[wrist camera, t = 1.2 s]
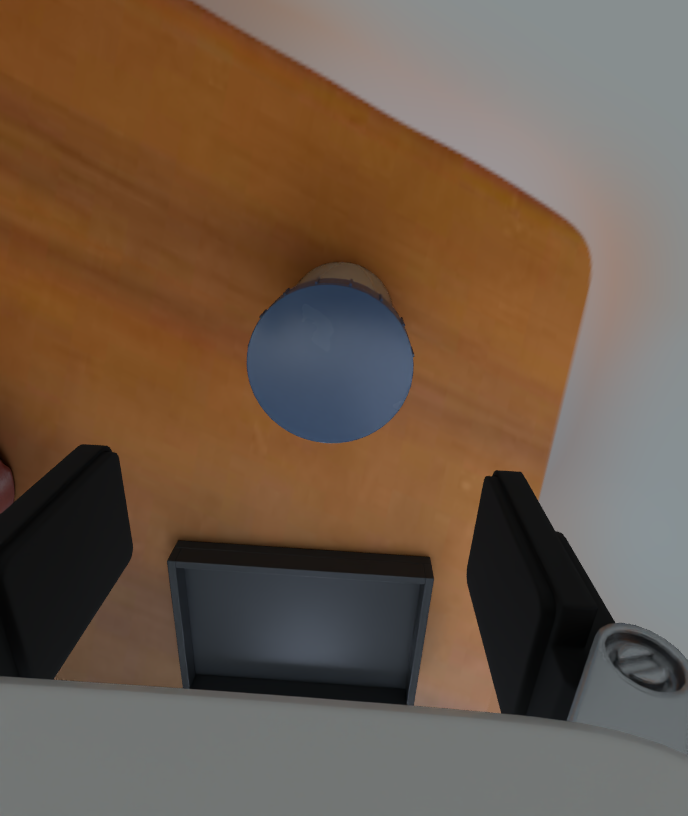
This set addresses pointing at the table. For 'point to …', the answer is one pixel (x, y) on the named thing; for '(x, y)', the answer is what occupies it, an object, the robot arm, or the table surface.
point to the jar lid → (330, 361)
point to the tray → (300, 621)
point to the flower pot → (6, 487)
